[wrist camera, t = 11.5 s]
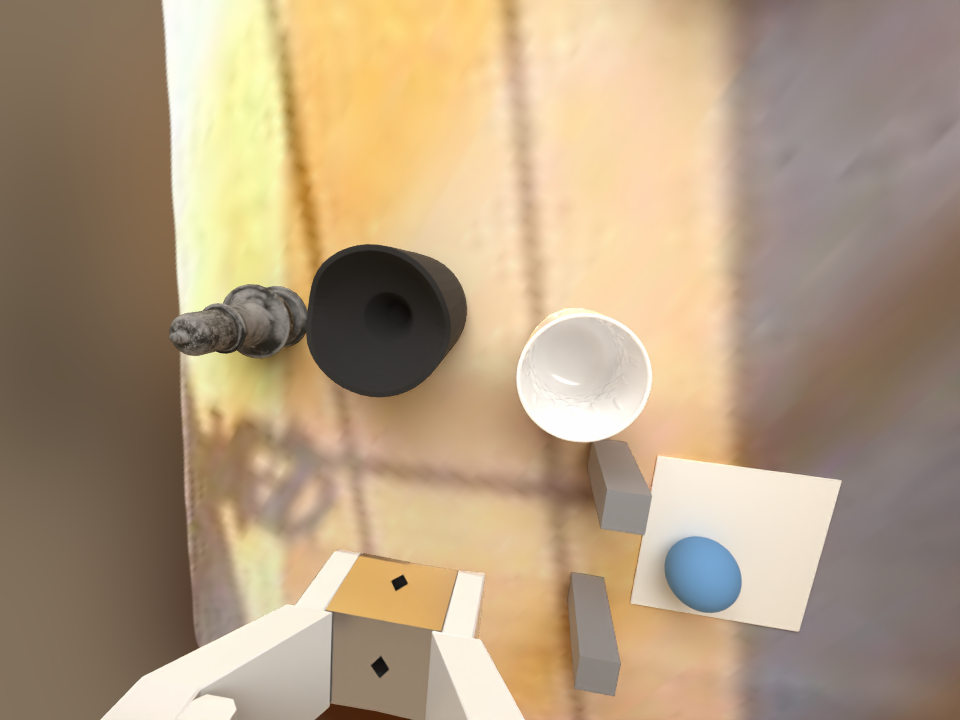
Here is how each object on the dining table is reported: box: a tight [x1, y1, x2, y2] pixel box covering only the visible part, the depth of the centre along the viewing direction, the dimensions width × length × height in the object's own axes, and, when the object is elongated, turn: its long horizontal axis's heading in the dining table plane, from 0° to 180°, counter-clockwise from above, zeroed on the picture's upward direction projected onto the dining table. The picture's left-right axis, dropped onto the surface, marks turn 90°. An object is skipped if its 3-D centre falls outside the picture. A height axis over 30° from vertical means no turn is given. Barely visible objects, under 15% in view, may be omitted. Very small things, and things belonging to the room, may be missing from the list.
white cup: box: [516, 308, 652, 442], centre depth 32 cm, size 8×8×10 cm
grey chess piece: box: [170, 284, 307, 359], centre depth 34 cm, size 6×6×12 cm
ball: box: [665, 536, 742, 613], centre depth 36 cm, size 6×6×6 cm
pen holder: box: [306, 244, 467, 397], centre depth 33 cm, size 9×9×10 cm
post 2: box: [568, 572, 621, 696], centre depth 37 cm, size 3×3×9 cm
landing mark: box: [630, 456, 842, 632], centre depth 38 cm, size 14×14×1 cm
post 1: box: [587, 439, 652, 535], centre depth 34 cm, size 3×3×9 cm
